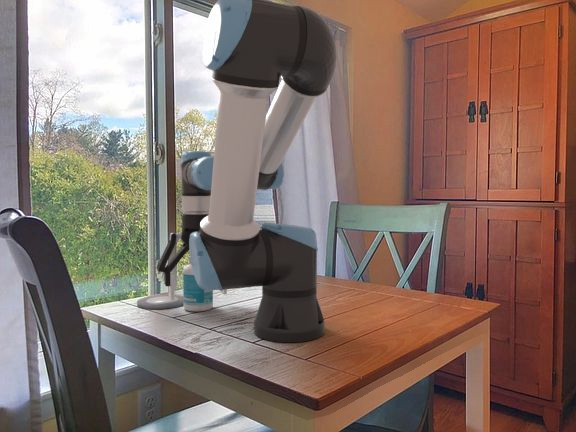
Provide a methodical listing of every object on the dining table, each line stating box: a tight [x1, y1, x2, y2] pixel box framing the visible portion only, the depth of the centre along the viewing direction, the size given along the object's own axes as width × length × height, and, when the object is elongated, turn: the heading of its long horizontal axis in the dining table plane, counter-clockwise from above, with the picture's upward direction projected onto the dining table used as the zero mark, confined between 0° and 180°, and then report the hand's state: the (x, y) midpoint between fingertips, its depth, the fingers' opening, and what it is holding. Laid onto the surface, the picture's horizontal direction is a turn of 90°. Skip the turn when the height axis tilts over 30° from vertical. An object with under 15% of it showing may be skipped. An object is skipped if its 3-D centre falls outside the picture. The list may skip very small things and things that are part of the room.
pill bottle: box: [182, 255, 214, 312], centre depth 122 cm, size 8×7×14 cm
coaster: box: [136, 294, 184, 310], centre depth 128 cm, size 13×13×1 cm
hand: (198, 296), depth 122 cm, fingers open, 13 cm apart
